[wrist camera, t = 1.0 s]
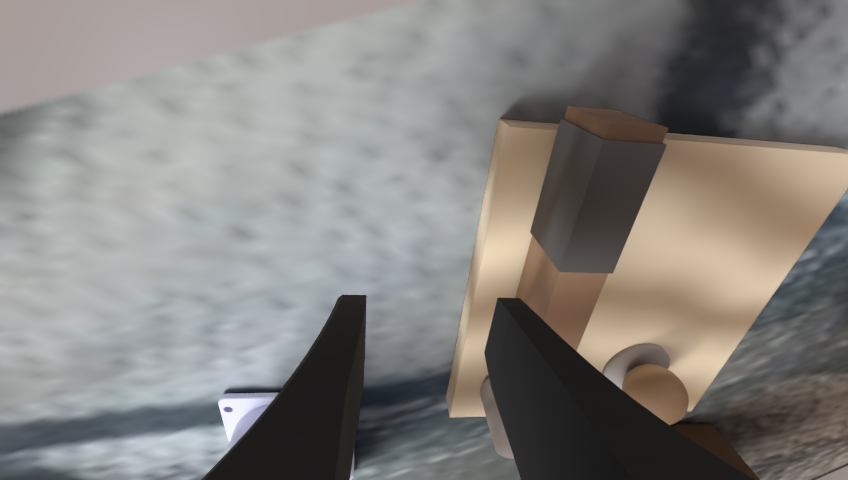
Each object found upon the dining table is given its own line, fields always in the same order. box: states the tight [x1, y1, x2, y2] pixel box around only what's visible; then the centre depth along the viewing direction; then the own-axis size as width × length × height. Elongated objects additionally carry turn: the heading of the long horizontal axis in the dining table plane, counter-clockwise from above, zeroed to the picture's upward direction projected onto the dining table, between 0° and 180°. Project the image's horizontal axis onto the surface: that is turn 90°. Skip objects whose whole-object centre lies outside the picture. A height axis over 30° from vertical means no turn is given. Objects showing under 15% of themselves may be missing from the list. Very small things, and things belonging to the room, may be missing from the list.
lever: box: [480, 106, 668, 459], centre depth 17 cm, size 18×3×3 cm, turn 174°
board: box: [446, 119, 848, 425], centre depth 19 cm, size 18×17×5 cm
